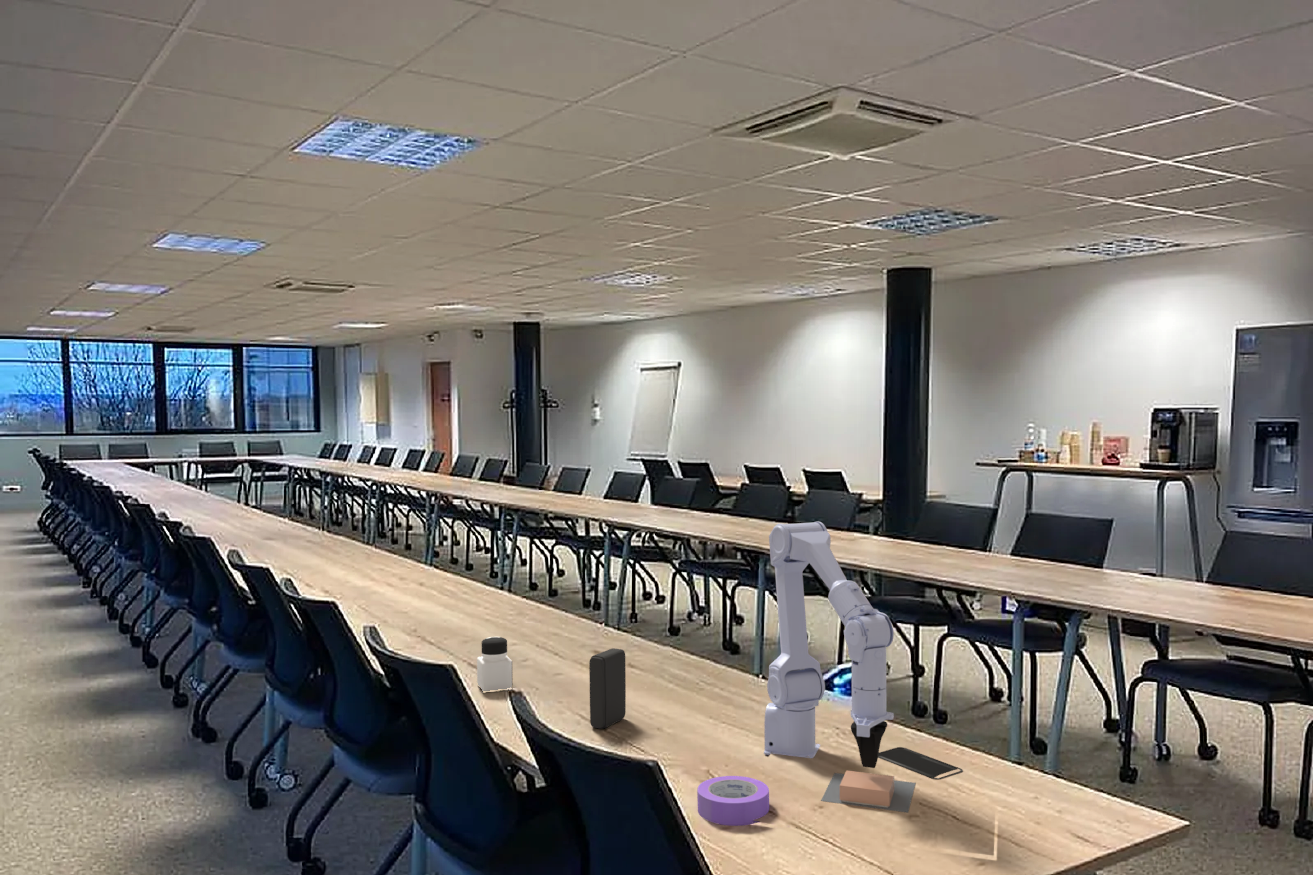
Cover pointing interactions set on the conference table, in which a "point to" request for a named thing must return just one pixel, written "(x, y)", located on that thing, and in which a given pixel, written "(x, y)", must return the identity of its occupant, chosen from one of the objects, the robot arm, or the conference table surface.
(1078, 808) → the conference table surface
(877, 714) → the robot arm
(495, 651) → the medicine bottle
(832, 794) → the mat
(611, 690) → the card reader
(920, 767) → the phone
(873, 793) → the light brown rectangular block
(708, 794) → the masking tape
